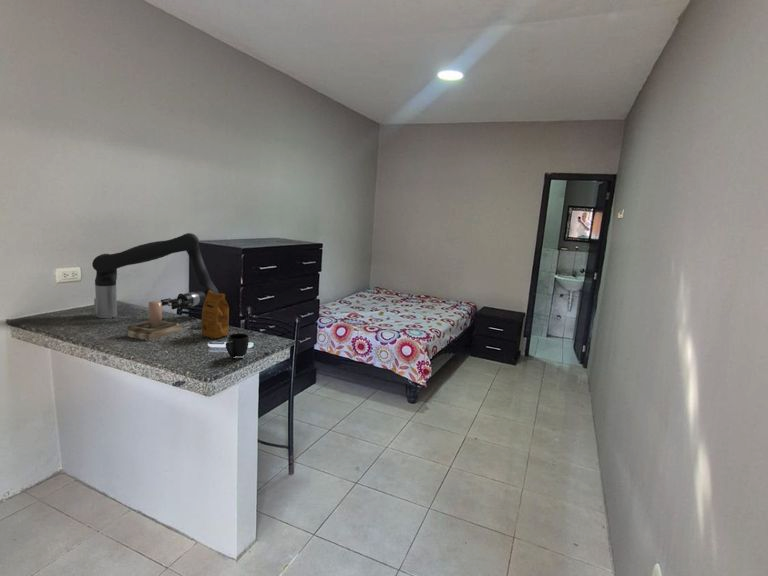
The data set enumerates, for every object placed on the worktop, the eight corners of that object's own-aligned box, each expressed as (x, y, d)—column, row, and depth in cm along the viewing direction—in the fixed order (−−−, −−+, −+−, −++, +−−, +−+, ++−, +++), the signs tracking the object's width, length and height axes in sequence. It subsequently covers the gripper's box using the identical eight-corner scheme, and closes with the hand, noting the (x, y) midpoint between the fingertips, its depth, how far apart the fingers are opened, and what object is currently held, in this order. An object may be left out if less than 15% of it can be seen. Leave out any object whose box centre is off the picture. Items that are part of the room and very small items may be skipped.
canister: (146, 326, 199) (145, 302, 197) (155, 324, 204) (154, 300, 202) (155, 328, 198) (155, 304, 196) (164, 325, 203) (164, 302, 201)
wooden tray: (127, 336, 193) (127, 326, 193) (160, 326, 212) (160, 316, 212) (149, 340, 190) (149, 330, 190) (180, 329, 209) (180, 320, 209)
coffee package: (214, 330, 213) (215, 288, 209) (231, 336, 207) (232, 292, 203) (197, 334, 204) (197, 291, 201) (214, 340, 199) (215, 295, 195)
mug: (217, 361, 174) (218, 339, 172) (236, 352, 185) (236, 332, 183) (234, 364, 171) (234, 342, 170) (252, 356, 183) (252, 335, 181)
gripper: (177, 291, 222) (153, 296, 206) (199, 295, 218) (176, 300, 203) (177, 305, 223) (153, 311, 207) (199, 308, 219) (177, 315, 204)
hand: (164, 306), depth 205 cm, fingers open, 8 cm apart
